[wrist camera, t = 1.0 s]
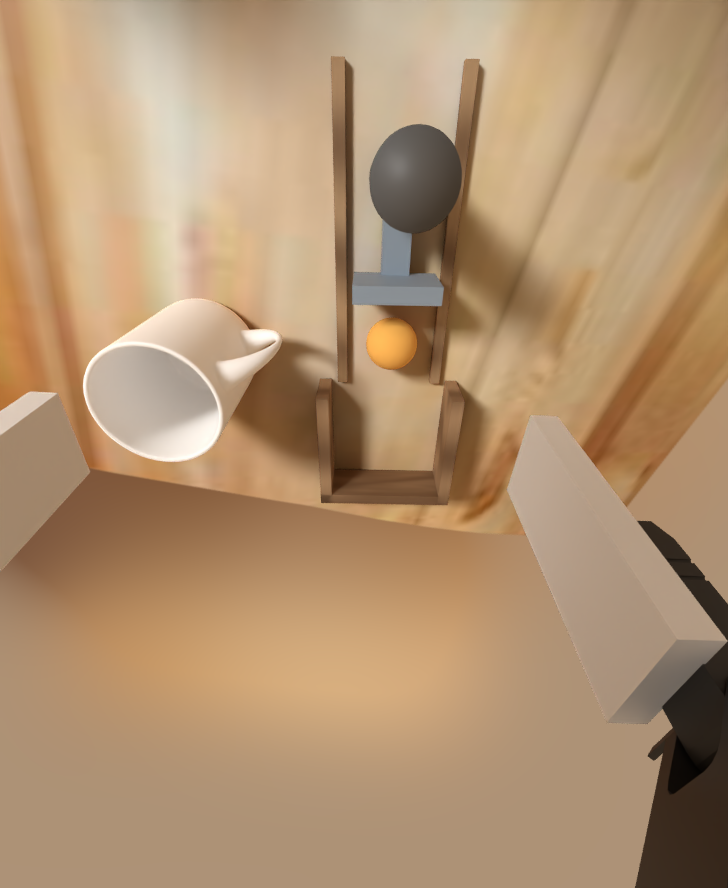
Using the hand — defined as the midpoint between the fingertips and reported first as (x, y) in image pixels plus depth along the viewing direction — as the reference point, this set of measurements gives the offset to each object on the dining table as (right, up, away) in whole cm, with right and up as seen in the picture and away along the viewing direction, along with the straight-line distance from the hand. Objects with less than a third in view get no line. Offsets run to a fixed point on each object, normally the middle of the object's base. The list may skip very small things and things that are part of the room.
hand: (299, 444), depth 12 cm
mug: (-10, +9, +23) cm, 26 cm away
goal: (+4, +1, +27) cm, 28 cm away
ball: (+4, +8, +21) cm, 22 cm away
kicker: (+4, +16, +17) cm, 24 cm away
